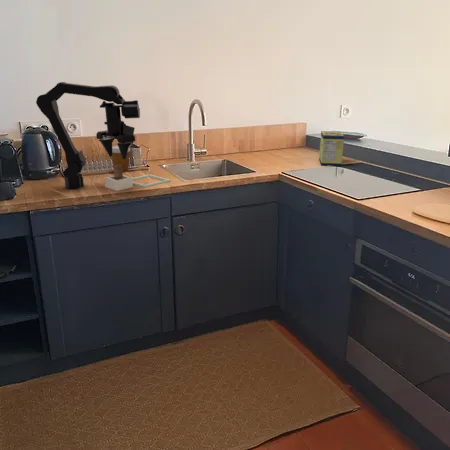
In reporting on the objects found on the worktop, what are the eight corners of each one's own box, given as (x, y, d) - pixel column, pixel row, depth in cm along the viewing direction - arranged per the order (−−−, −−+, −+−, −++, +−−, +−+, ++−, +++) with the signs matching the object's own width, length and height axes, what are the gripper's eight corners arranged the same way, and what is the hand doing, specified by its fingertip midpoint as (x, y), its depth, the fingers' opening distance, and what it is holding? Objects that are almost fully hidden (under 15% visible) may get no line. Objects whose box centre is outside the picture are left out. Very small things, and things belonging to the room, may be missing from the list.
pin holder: (116, 193, 191) (116, 181, 189) (105, 189, 196) (104, 177, 194) (133, 189, 197) (132, 177, 195) (121, 185, 202) (120, 174, 200)
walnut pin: (118, 188, 194) (116, 167, 191) (113, 187, 196) (111, 165, 193) (125, 187, 196) (123, 165, 193) (120, 185, 198) (118, 164, 195)
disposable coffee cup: (127, 174, 220) (125, 149, 216) (107, 173, 222) (105, 148, 218) (134, 170, 229) (133, 145, 225) (116, 169, 231) (114, 144, 227)
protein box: (338, 160, 256) (340, 131, 250) (341, 166, 241) (344, 136, 236) (318, 159, 257) (320, 130, 251) (320, 166, 242) (323, 135, 237)
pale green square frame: (144, 189, 196) (144, 185, 195) (124, 183, 205) (124, 179, 204) (170, 183, 206) (170, 179, 205) (150, 178, 215) (149, 174, 214)
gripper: (144, 118, 186) (147, 157, 192) (116, 115, 198) (120, 152, 204) (121, 121, 179) (125, 162, 184) (93, 118, 191) (97, 156, 196)
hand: (117, 157), depth 192 cm, fingers open, 9 cm apart
